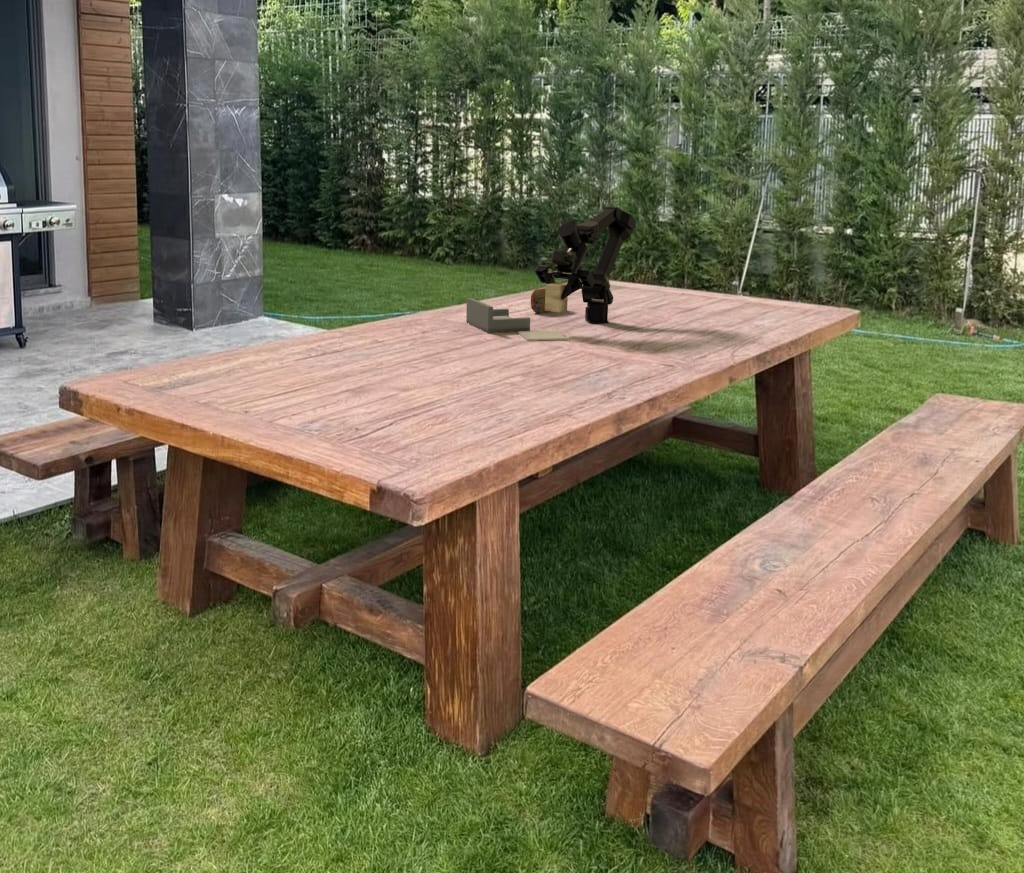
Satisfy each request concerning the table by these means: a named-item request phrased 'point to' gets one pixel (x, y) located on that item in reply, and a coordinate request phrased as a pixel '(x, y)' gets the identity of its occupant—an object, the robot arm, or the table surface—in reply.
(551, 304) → the block
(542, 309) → the tin
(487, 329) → the grey walled tray
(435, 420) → the table surface
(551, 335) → the tile
